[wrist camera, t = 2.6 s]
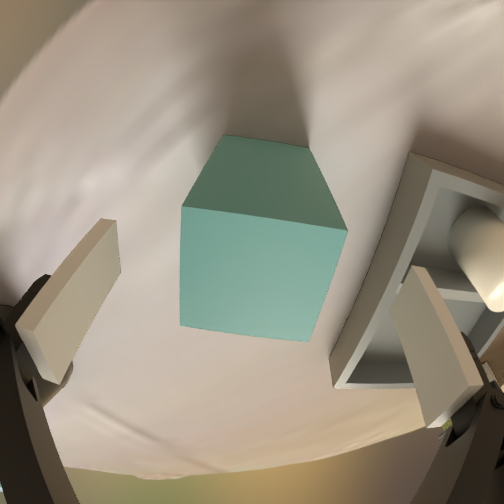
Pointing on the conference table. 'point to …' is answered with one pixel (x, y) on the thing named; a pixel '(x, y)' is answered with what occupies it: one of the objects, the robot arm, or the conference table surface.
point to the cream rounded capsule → (480, 252)
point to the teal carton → (258, 241)
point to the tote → (398, 265)
